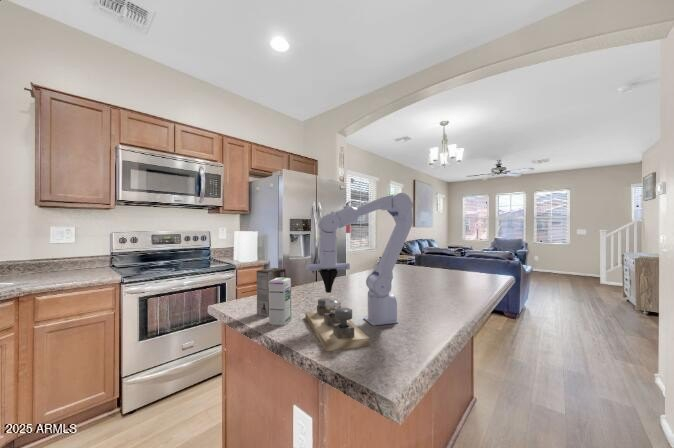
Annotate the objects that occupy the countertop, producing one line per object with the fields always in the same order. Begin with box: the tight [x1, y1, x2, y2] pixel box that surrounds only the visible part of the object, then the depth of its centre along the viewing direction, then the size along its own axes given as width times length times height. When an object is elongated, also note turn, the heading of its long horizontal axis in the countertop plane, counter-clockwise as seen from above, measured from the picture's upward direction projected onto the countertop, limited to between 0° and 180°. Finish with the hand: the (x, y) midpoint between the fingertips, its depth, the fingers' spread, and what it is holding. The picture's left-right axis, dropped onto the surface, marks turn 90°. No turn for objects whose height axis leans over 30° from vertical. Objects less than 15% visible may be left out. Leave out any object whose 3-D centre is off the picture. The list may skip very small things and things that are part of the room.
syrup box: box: [268, 277, 292, 326], centre depth 92 cm, size 6×6×14 cm
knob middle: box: [325, 298, 342, 317], centre depth 85 cm, size 5×5×4 cm
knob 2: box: [335, 307, 353, 328], centre depth 75 cm, size 5×5×4 cm
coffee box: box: [256, 267, 287, 318], centre depth 103 cm, size 9×6×16 cm
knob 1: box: [317, 297, 330, 308], centre depth 94 cm, size 5×5×4 cm
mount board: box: [304, 304, 371, 352], centre depth 85 cm, size 12×28×4 cm, turn 18°
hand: (328, 292), depth 90 cm, fingers closed
